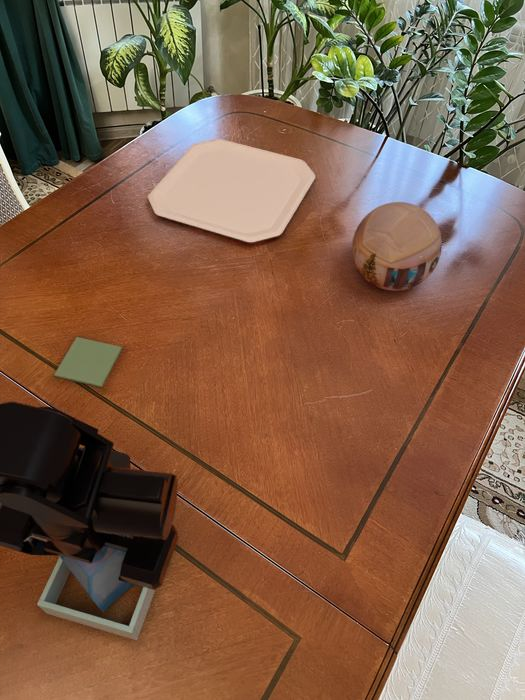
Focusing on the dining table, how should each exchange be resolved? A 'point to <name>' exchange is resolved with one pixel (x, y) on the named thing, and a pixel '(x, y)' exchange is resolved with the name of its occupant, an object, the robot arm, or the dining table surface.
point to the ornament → (396, 246)
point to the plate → (233, 190)
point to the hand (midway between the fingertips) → (100, 560)
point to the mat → (88, 362)
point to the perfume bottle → (100, 576)
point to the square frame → (50, 607)
